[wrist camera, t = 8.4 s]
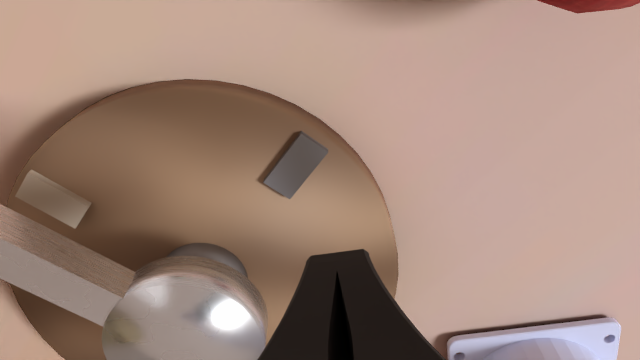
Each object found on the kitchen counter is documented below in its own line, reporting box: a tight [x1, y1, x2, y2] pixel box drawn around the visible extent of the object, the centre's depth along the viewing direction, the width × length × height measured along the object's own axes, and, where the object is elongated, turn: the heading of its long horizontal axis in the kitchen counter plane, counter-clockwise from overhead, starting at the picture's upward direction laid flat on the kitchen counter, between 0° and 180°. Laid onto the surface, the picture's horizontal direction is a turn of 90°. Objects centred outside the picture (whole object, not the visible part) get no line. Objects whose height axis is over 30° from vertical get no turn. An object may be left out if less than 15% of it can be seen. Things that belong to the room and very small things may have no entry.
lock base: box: [6, 79, 398, 360], centre depth 22 cm, size 16×16×4 cm
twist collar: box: [0, 204, 268, 360], centre depth 18 cm, size 14×6×2 cm, turn 55°
